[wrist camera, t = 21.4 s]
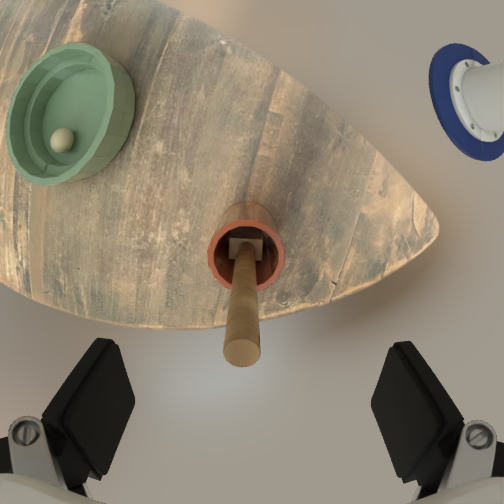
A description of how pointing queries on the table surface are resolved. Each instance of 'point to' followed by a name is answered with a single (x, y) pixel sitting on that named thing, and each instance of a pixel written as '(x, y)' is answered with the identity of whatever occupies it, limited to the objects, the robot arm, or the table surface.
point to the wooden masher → (243, 298)
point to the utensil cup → (271, 250)
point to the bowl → (69, 114)
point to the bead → (62, 140)
